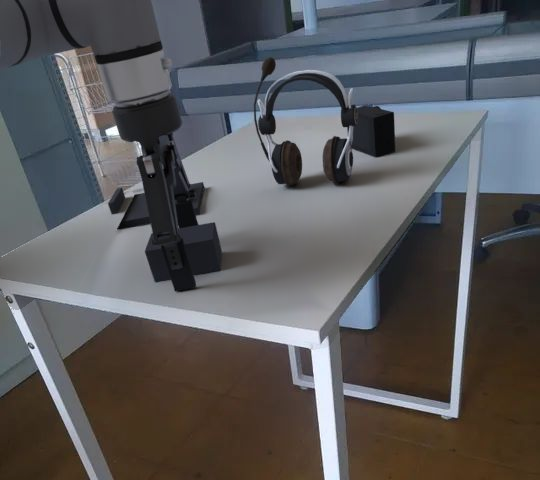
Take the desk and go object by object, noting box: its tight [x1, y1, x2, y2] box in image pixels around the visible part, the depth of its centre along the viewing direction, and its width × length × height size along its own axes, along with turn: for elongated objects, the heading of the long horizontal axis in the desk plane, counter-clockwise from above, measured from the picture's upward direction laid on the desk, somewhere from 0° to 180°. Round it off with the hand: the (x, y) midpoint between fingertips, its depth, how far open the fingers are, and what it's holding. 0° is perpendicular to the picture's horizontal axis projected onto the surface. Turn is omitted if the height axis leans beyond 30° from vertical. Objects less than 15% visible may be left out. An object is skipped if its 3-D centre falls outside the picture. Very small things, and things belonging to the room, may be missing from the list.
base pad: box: [107, 181, 205, 230], centre depth 96 cm, size 18×14×4 cm
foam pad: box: [144, 221, 223, 283], centre depth 74 cm, size 9×6×4 cm, turn 92°
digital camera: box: [346, 104, 396, 158], centre depth 103 cm, size 10×5×7 cm, turn 22°
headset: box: [253, 56, 358, 188], centre depth 88 cm, size 17×8×20 cm, turn 71°
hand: (190, 265), depth 75 cm, fingers open, 13 cm apart
